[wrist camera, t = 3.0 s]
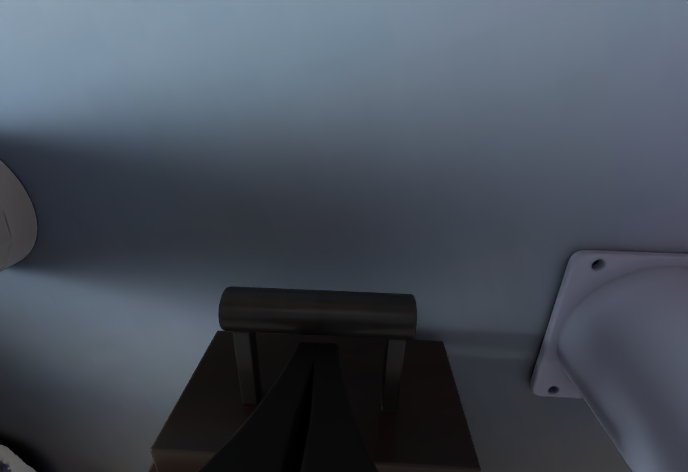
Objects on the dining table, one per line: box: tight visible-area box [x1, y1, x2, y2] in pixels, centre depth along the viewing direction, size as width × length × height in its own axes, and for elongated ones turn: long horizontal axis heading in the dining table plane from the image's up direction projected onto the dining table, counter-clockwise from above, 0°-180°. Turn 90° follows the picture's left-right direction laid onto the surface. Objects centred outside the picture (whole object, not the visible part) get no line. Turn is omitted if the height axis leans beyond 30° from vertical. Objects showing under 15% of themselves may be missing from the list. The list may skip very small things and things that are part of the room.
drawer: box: [151, 286, 481, 472], centre depth 15 cm, size 17×10×6 cm, turn 179°
